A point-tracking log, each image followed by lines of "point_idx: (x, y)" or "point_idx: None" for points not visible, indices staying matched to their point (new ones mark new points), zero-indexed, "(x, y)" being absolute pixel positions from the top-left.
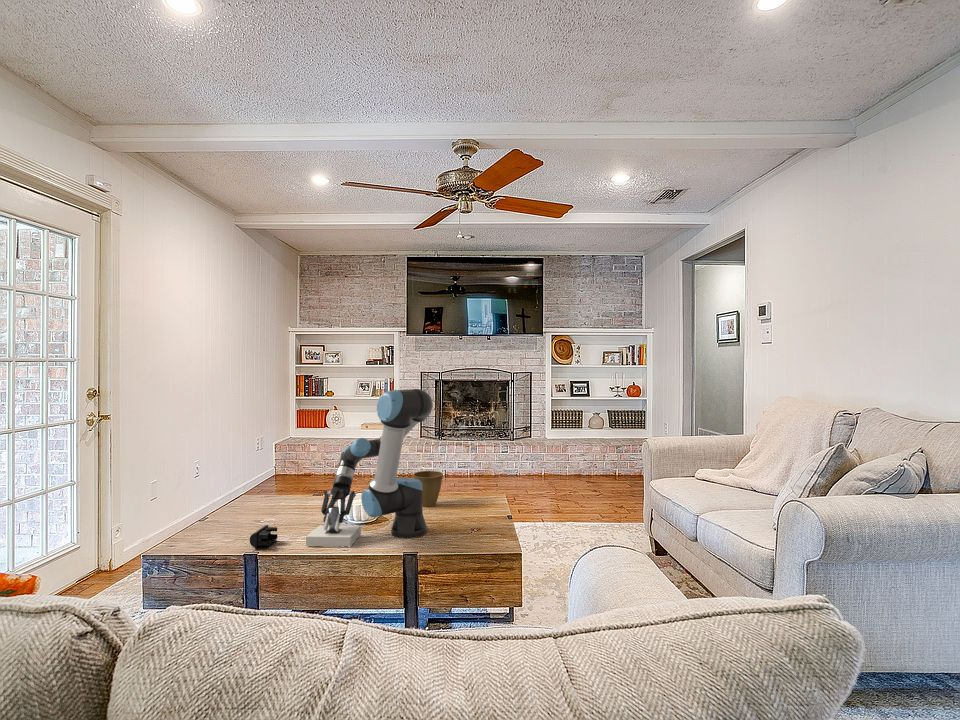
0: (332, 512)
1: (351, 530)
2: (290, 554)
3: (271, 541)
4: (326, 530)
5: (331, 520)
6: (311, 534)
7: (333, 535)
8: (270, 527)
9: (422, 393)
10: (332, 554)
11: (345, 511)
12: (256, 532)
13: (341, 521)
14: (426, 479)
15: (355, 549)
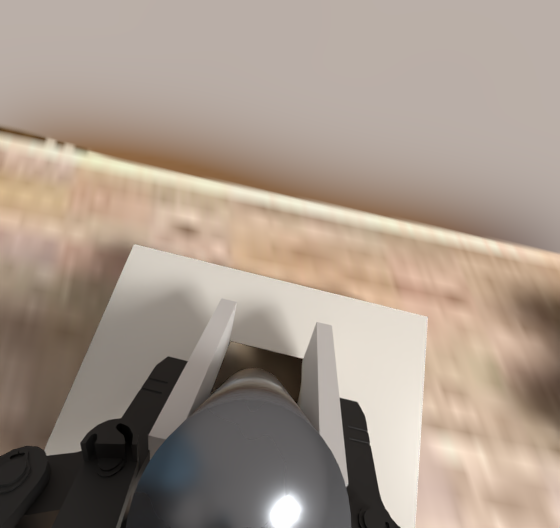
0: (260, 392)
1: (110, 398)
2: (436, 230)
3: None
4: (305, 354)
5: (271, 383)
6: (405, 357)
7: (247, 302)
8: None
9: None
10: (244, 189)
11: (38, 467)
12: None
13: (163, 367)
14: None
15: (131, 228)
